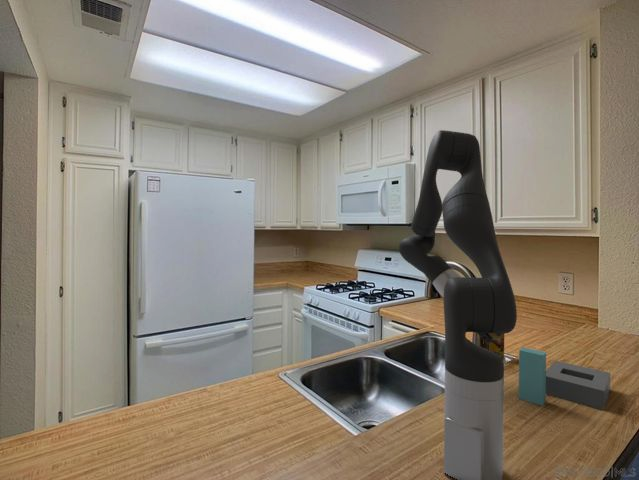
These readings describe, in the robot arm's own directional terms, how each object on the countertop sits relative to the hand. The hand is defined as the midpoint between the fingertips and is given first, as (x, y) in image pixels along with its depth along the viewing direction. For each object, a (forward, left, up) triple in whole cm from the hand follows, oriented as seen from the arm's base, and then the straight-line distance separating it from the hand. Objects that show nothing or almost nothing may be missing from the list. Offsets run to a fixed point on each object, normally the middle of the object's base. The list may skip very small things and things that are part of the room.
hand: (496, 337), depth 88 cm
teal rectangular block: (0, -8, -13) cm, 16 cm away
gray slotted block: (+13, -15, -13) cm, 24 cm away
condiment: (+23, +9, -14) cm, 28 cm away
